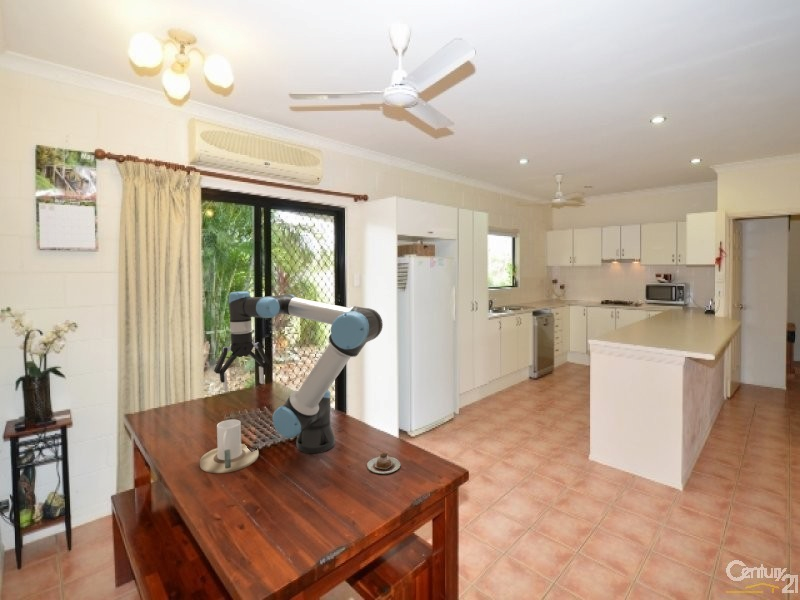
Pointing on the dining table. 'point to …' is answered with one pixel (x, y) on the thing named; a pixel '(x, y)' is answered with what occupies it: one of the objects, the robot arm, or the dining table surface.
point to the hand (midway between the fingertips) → (244, 386)
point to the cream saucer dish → (227, 461)
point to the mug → (229, 438)
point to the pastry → (383, 463)
